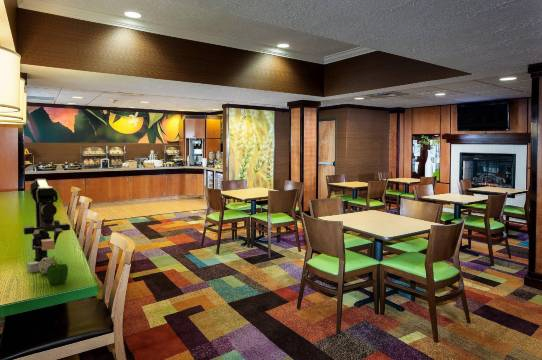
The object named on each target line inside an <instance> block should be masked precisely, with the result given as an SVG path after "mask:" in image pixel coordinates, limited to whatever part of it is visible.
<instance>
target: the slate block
mask: <svg viewBox="0 0 542 360" xmlns="http://www.w3.org/2000/svg"><path fill="white" fill-rule="evenodd" d="M39 262H40V261H31V262H27V263H26V265H27V266H26V267H27V272H28V273H35V272H41V271H40V269H39V268H38V266H37V265H36V264H38V263H39Z"/></svg>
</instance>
